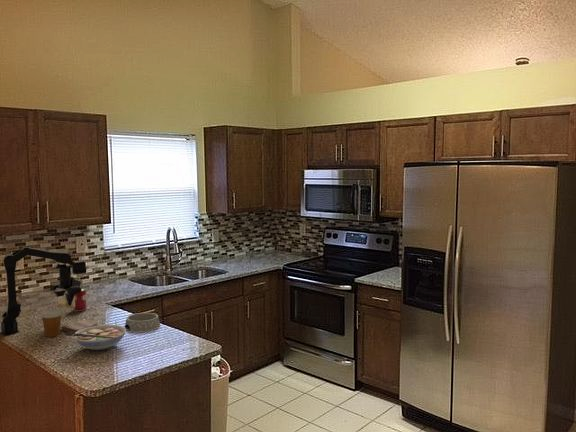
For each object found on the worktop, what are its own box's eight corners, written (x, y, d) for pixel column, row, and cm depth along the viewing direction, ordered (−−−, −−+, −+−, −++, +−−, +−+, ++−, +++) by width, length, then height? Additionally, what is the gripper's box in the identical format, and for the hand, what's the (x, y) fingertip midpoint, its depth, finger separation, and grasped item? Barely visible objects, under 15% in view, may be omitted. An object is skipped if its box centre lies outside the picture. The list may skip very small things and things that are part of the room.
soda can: (72, 312, 284) (71, 291, 283) (74, 308, 291) (73, 288, 290) (86, 311, 286) (85, 290, 285) (87, 307, 293) (86, 288, 292)
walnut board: (77, 334, 246) (77, 330, 246) (61, 330, 252) (61, 326, 252) (97, 327, 256) (97, 323, 256) (82, 323, 262) (81, 320, 262)
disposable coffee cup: (42, 333, 247) (41, 309, 246) (63, 330, 251) (62, 307, 250) (41, 339, 238) (40, 315, 237) (62, 336, 242) (61, 312, 241)
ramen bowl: (138, 341, 235) (137, 324, 234) (110, 359, 213) (110, 340, 212) (91, 337, 241) (91, 321, 240) (60, 354, 219) (59, 336, 218)
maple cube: (65, 309, 257) (64, 298, 257) (57, 308, 260) (57, 296, 260) (75, 306, 263) (74, 295, 262) (67, 305, 266) (67, 294, 265)
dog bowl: (148, 319, 272) (148, 309, 271) (166, 326, 259) (165, 316, 258) (119, 326, 260) (118, 316, 259) (136, 334, 247) (135, 323, 246)
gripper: (89, 274, 262) (90, 303, 264) (67, 271, 271) (68, 298, 273) (71, 278, 253) (72, 308, 254) (48, 274, 262) (50, 303, 263)
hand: (66, 304), depth 261 cm, fingers closed on maple cube, 6 cm apart
